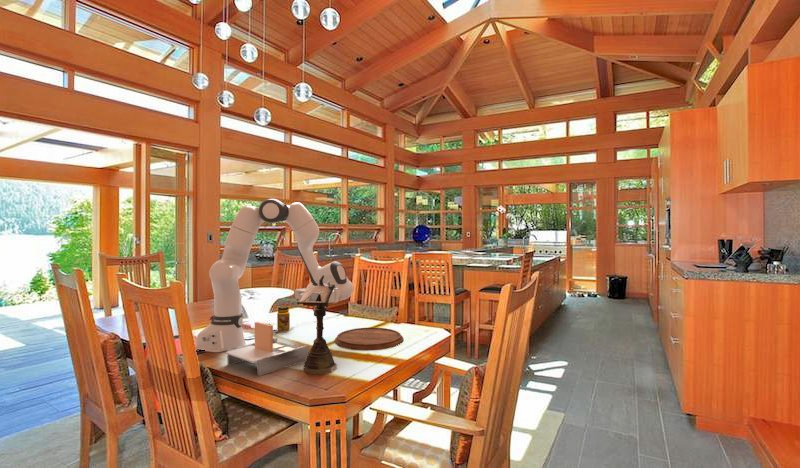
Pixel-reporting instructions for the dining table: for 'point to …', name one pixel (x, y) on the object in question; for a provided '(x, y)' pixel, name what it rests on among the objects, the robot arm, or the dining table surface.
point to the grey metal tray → (275, 357)
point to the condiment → (283, 319)
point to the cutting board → (368, 338)
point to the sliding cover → (257, 345)
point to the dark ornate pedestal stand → (318, 328)
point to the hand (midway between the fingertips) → (299, 297)
